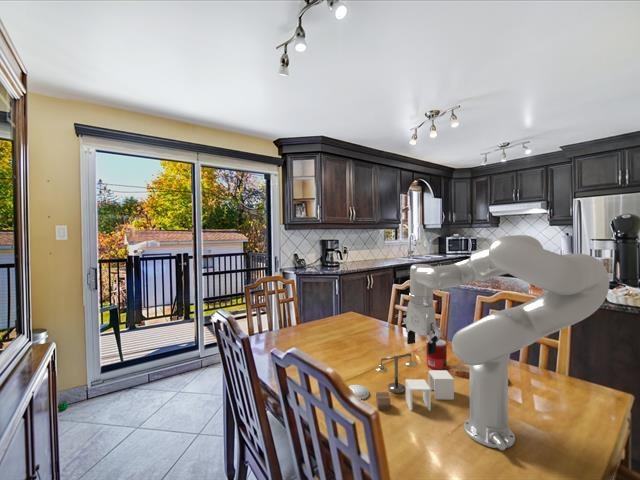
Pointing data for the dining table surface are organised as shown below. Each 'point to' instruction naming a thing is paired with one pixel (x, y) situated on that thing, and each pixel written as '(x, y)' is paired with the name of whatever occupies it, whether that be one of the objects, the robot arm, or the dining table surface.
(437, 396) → the cover
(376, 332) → the dining table surface
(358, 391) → the dish
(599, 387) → the dining table surface
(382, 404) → the block
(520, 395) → the dining table surface
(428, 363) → the canned food
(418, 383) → the cover
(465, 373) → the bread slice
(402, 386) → the balance
